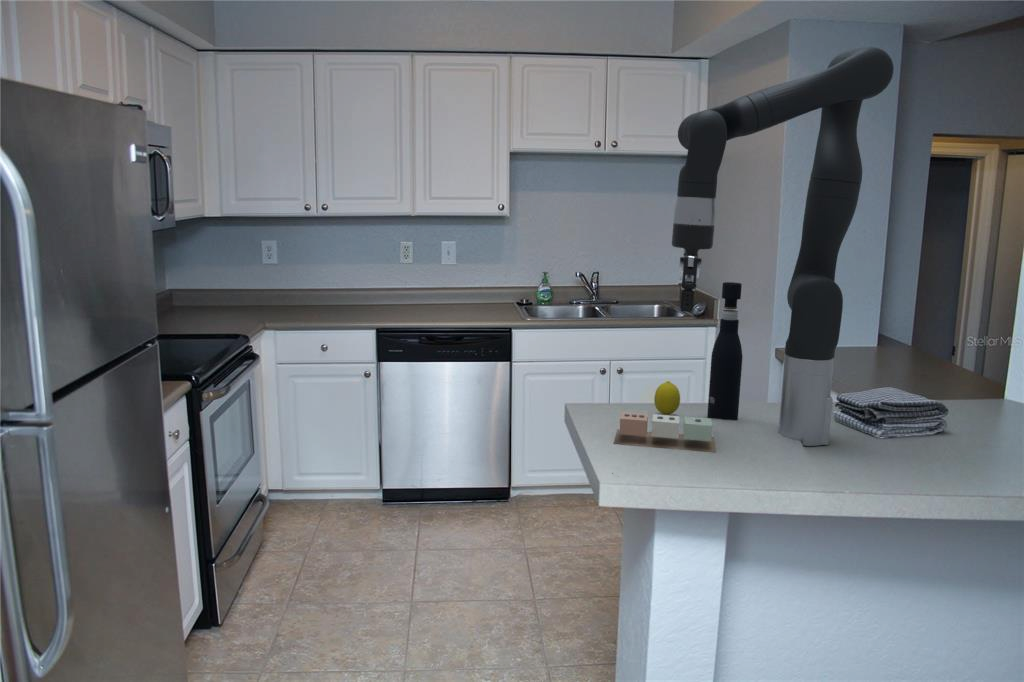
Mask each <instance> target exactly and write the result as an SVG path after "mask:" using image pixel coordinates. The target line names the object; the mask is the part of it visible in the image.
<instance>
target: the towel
mask: <svg viewBox="0 0 1024 682" xmlns="http://www.w3.org/2000/svg"><path fill="white" fill-rule="evenodd" d="M836 400H837V402H835V404H834V407H835V408H838V409H839V410H840V411H837V410H836V411H833V412H832V415H833V419H834V421H835V420H836V421H835V422H837V423H839V422H841V423H840V424H842V423H844V424H843V425H845V424H846V426H848V425H849V426H848V427H850V426H851V427H850V428H852V427H854V428H853V429H855V428H856V429H855V430H857V429H859V430H858V431H860V430H861V431H860V432H862V431H863V433H864V432H866V433H869V434H871V435H873V436H876V437H878V438H880V437H896V438H898V437H897V436H905V435H913V434H926V433H935V432H940V433H943V432H944V431H945V429H946V427H947V426H948V424H947V421H946V420H945V419H944V418H945V417H946V416H948V414H949V409H948V407H947V406H946V405H945V404H944V403H943V402H941V401H939V400H937V399H929V398H926V397H925V396H922V395H919V394H914V393H912V392H911V393H910V392H908V391H906V390H903V389H899V388H895V387H891V386H890V387H888V386H886V387H876V388H873V389H867V390H864V391H856V392H855V391H854V392H846V393H845V392H844V393H843V392H842V393H838V394H837V396H836ZM866 433H865V434H866ZM869 434H868V435H869ZM871 435H870V436H871ZM873 436H872V437H873ZM876 437H875V438H876ZM878 438H877V439H878Z"/></svg>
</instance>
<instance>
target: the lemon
mask: <svg viewBox="0 0 1024 682" xmlns="http://www.w3.org/2000/svg"><path fill="white" fill-rule="evenodd" d="M653 402H654V406H655V408H656V409H657V411H658V412H659V413H661V414H662V415H669V416H671V414H673V413H675V412H676V411H678V409H679V406H680V403H681V394H680V390H679V388H678V387H677V385H675V384H674V383H672V382H671V381H669V380H667V381H665V382H662V383H661V384H660V385H659V386H658V387H657V388H656V390H655V393H654V399H653Z"/></svg>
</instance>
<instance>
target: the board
mask: <svg viewBox="0 0 1024 682" xmlns="http://www.w3.org/2000/svg"><path fill="white" fill-rule="evenodd" d="M651 435H652V431H647V433H646V436H639V435H627V434H620V428H619V429H618V428H617V429H616V433H615V437H614V439H613V444H612V445H618V446H620V445H621V446H631V447H632V446H633V447H645V448H656V449H669V450H680V451H681V450H682V451H691V452H704V453H717V447H716V442H715V441H716V440H715V436H711V441H702V440H689V439H684V433H683V434H681V433H679V436H678V439H677V438H664V437H652V436H651Z"/></svg>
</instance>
